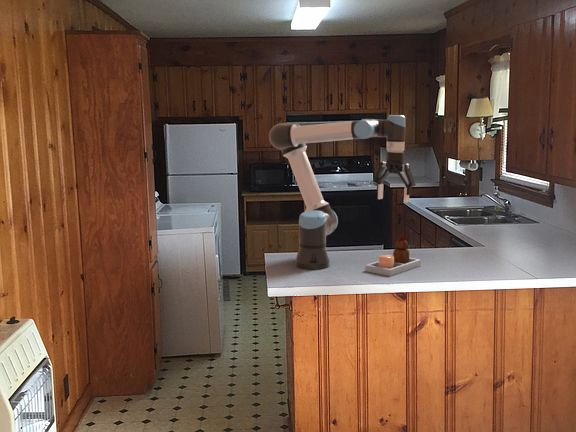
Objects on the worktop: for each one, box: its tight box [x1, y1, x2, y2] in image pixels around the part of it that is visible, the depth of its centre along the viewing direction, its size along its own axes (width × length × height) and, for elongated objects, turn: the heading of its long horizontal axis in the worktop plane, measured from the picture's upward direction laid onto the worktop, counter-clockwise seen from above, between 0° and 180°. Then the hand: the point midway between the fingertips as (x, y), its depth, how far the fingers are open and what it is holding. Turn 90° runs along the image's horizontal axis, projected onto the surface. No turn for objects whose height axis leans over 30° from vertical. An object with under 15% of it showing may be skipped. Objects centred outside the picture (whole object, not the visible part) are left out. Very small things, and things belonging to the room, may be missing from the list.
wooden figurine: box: [392, 230, 410, 264], centre depth 276 cm, size 7×6×15 cm
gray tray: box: [364, 257, 422, 277], centre depth 273 cm, size 12×24×4 cm, turn 138°
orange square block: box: [378, 254, 394, 269], centre depth 268 cm, size 6×6×6 cm
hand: (393, 200), depth 278 cm, fingers open, 13 cm apart
